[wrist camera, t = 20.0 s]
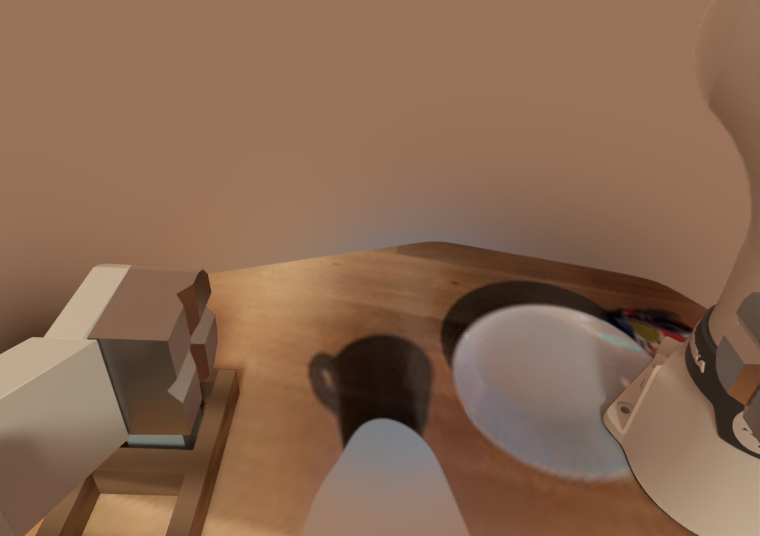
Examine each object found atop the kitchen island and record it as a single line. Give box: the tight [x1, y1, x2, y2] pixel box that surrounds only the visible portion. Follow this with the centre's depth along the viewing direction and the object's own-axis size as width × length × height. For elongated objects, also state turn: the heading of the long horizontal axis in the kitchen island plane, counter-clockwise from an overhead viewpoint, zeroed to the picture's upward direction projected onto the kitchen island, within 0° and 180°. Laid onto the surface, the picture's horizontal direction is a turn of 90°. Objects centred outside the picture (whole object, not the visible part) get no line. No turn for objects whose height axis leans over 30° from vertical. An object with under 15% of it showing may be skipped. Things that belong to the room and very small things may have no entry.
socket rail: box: [36, 369, 239, 536], centre depth 44 cm, size 19×10×3 cm, turn 0°
